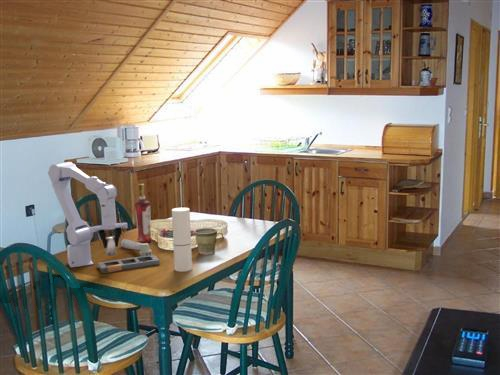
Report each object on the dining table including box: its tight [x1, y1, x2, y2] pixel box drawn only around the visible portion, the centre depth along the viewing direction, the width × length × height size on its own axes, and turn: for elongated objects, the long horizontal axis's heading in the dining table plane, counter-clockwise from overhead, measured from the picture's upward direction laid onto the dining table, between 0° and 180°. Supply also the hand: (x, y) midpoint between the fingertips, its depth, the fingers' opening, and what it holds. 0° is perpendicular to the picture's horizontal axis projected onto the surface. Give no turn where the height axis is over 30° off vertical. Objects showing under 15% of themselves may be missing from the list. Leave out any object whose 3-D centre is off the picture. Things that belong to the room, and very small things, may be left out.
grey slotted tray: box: [97, 254, 161, 274], centre depth 260 cm, size 24×9×2 cm, turn 114°
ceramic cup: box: [194, 227, 224, 255], centre depth 276 cm, size 13×10×10 cm
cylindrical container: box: [171, 207, 193, 273], centre depth 252 cm, size 7×7×25 cm
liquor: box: [134, 183, 153, 244], centre depth 296 cm, size 7×7×28 cm
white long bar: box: [119, 238, 153, 257], centre depth 281 cm, size 5×7×25 cm
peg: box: [105, 236, 117, 257], centre depth 256 cm, size 4×4×7 cm
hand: (110, 246), depth 256 cm, fingers closed on peg, 4 cm apart
